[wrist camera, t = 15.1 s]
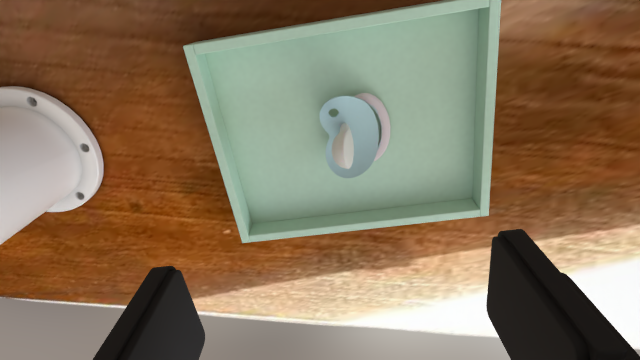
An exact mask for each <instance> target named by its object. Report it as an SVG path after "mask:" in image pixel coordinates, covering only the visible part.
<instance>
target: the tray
mask: <svg viewBox="0 0 640 360" xmlns="http://www.w3.org/2000/svg"><path fill="white" fill-rule="evenodd" d="M500 11H501V0H443V1H437V2H431V3H425V4H419V5H413V6H407V7H401V8H395V9H389V10H383V11H377V12H371V13H365V14H359V15H354V16H348V17H342V18H336V19H330V20H324V21H318V22H312V23H306V24H300V25H294V26H288V27H282V28H276V29H270V30H264V31H258V32H252V33H246V34H240V35H234V36H228V37H222V38H216V39H210V40H204V41H198V42H194V43H191V44H188V45H184V46H183V49H184V52H185V55H186V59H187V62H188V65H189V68H190V72H191V75H192V78H193V82H194V85H195V88H196V92H197V95H198V98H199V101H200V105H201V108H202V111H203V115H204V118H205V121H206V124H207V128H208V131H209V134H210V138H211V141H212V144H213V148H214V151H215V154H216V157H217V161H218V164H219V167H220V171H221V174H222V177H223V180H224V184H225V187H226V190H227V194H228V197H229V200H230V204H231V207H232V210H233V213H234V217H235V220H236V223H237V227H238V230H239V233H240V236H241V240H242V243H247V242H256V241H265V240H274V239H283V238H292V237H301V236H310V235H319V234H328V233H337V232H345V231H354V230H363V229H372V228H381V227H390V226H399V225H408V224H417V223H426V222H435V221H444V220H453V219H462V218H471V217H479V216H488V215H489V198H490V181H491V164H492V147H493V130H494V113H495V96H496V79H497V62H498V45H499V28H500ZM361 93H369V94H372V95H374V96H376V97H377V98H378V99H379V100H380V101H381V102H382V103H383V105H384V106H385V108H386V110H387V113H388V116H389V120H390V139H389V144H388V146H387V148H386V150H385V152H384V153H383V155H382V156H381V157H380V158H378V159H377V160H376V161H373V163H372V165H371V166H370V167H369V168H368V169H367V171H365V172H364V173H363V174H361V175H359V176H357V177H354V178H343V177H340V176H338V175H336V174H335V173H334V172H333V171H332V170H331V169H330V167H329V165H328V163H327V160H326V146H327V142H328V140H329V134H328V133H327V132H326V131H325V129H324V128H323V126H322V125H321V122H320V111H321V108H322V106H323V105H324V104H325V102H327V101H328V100H329V99H331V98H334V97H337V96H343V95H345V96H355V95H358V94H361ZM370 108H371V109H372V111H373V112H374V114H375V117H376V120H377V124H378V130H379V139H380V134H381V125H380V119H379V117H378V114H377V113H376V111H375V110H374V109H373V108H372V107H371V106H370ZM328 113H329V115H330V116H336V115H337V114H338V110H337V109H335V108H334V109H331V110H329V112H328Z"/></svg>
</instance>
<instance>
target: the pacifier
mask: <svg viewBox="0 0 640 360" xmlns="http://www.w3.org/2000/svg"><path fill="white" fill-rule="evenodd" d="M370 106H371V107H372V108H373V109H374V110H375V111H376V113H377V114H378V117H379V119H380V125H381V134H380V139H379V130H378V124H377V120H376V117H375V114H374V112H373V111H372V109H371V108H370ZM334 108H335V109H337V110H338V114H337V115H336V116H330V115H329V113H328V112H329V110H331V109H334ZM320 122H321V125H322V126H323V128H324V129H325V131H326V132H327V133H328V134H329V140H328V142H327V146H326V160H327V163H328V165H329V167H330V169H331V170H332V171H333V172H334V173H335V174H336V175H338V176H340V177H343V178H354V177H357V176H359V175H361V174H363V173H364V172H365V171H367V169H368V168H369V167H370V166H371V165H372V163H373V161H376V160H377V159H378V158H380V157H381V156H382V155H383V153H384V152H385V150H386V148H387V146H388V144H389V139H390V120H389V116H388V113H387V110H386V108H385V106H384V105H383V103H382V102H381V101H380V100H379V99H378V98H377V97H376V96H374V95H372V94H369V93H361V94H358V95H355V96H345V95H343V96H337V97H334V98H331V99H329V100H328V101H327V102H325V104H324V105H323V106H322V108H321V111H320Z"/></svg>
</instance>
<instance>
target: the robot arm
mask: <svg viewBox="0 0 640 360" xmlns="http://www.w3.org/2000/svg"><path fill="white" fill-rule="evenodd" d="M103 168H104V163H103V158H102V153H101V150H100V148H99V145H98V143H97V140H96V139H95V137H94V135H93V134H92V132H91V130H90V129H89V127H88V126H87V125H86V124H85V123H84V121H83V120H82V119H81V118H80V117H79V116H78V115H77V114H76V113H75V112H73V111H72V110H71V109H70V108H69V107H68V106H66V105H65V104H63V103H62V102H60V101H59V100H57V99H55V98H53V97H51V96H49V95H47V94H45V93H43V92H40V91H37V90H34V89H31V88H25V87H18V86H9V87H0V245H1V244H2V243H3V242H5V241H6V240H7V239H9V238H10V237H11V236H13V235H14V234H15V233H17V232H18V231H20V230H21V229H22V228H24V227H25V226H26V225H28V224H29V223H30V222H32V221H33V220H34V219H36V218H37V217H39V216H40V215H41V214H43V213H44V212H45V211H46V212H63V211H68V210H72V209H74V208H76V207H79V206H81V205H82V204H84V203H85V202H86V201H87V200H89V199H90V198H91V197H92V196H93V195H94V194H95V193H96V192H97V190H98V188H99V186H100V185H101V182H102V178H103ZM487 312H488V315H489V318H490V320H491V322H492V324H493V326H494V328H495V330H496V332H497V334H498V335H499V337H500V339H501V341H502V343H503V345H504V347H505V349H506V351H507V353H508V355H509V356H510V358H511V360H640V356H639V355H638V354H637V353H636V351H635V350H634V349H633V348H632V347H631V346H630V345H629V344H628V342H627V341H626V340H625V339H624V338H623V337H622V336H621V335H620V333H619V332H618V331H617V330H616V329H615V328H614V327H613V326H612V324H611V323H610V322H609V321H608V320H607V319H606V318H605V317H604V315H603V314H602V313H601V312H600V311H599V310H598V309H597V308H596V306H595V305H594V304H593V303H592V302H591V301H590V300H589V299H588V297H587V296H586V295H585V294H584V293H583V292H582V291H581V290H580V288H579V287H578V286H577V285H576V284H575V283H574V282H573V281H572V280H571V278H569V277H568V276H567V275H566V274H564V273H560V271H559V270H558V269H557V268H556V267H555V266H554V265H553V263H552V262H551V261H550V260H549V259H548V258H547V257H546V255H545V254H544V253H543V252H542V251H541V250H540V249H539V247H538V246H537V245H536V244H535V243H534V242H533V240H532V239H531V238H530V237H529V236H528V235H527V234H526V232H525V231H523V230H522V229H516V230H507V231H500V232H499V234H498V237H493V239H492V248H491V260H490V272H489V283H488V295H487ZM204 341H205V332H204V329H203V326H202V324H201V322H200V319H199V316H198V314H197V311H196V309H195V306H194V303H193V301H192V298H191V296H190V293H189V291H188V288H187V285H186V283H185V280H184V278H183V275H182V273H181V271H180V270H176V269H175V267H173V266H165V267H156V268H152V269H151V270H150V272H149V273H148V275H147V276H146V278H145V280H144V281H143V283H142V284H141V286H140V287H139V289H138V290H137V292H136V293H135V295H134V297H133V298H132V300H131V301H130V303H129V304H128V306H127V307H126V309H125V311H124V312H123V314H122V315H121V317H120V318H119V320H118V321H117V323H116V325H115V326H114V328H113V329H112V330H111V332H110V334H109V335H108V337H107V338H106V340H105V341H104V343H103V344H102V346H101V347H100V349H99V351H98V352H97V354H96V355H95V357H94V358H93V360H199V357H200V354H201V351H202V348H203V346H204Z"/></svg>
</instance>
